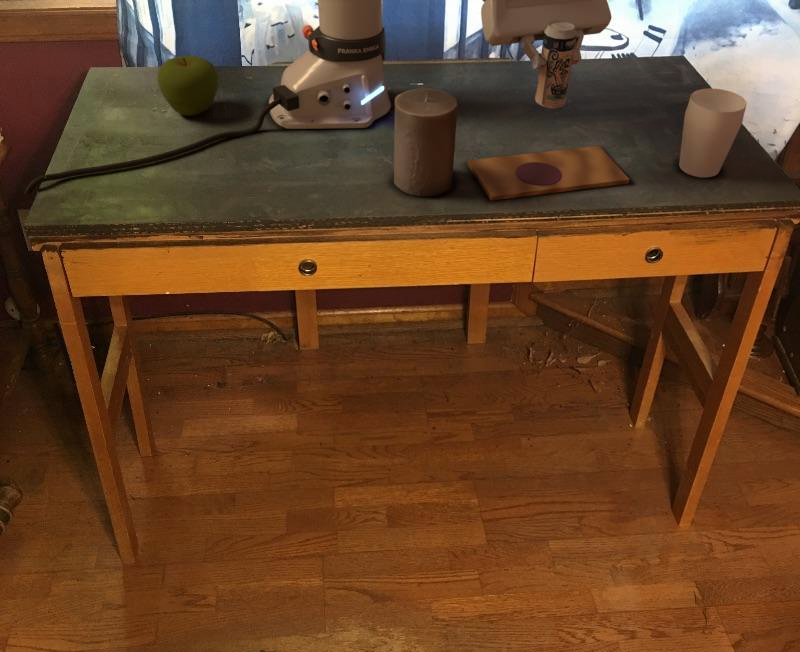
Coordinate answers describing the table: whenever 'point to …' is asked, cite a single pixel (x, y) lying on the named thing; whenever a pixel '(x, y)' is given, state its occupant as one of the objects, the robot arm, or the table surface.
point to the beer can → (556, 64)
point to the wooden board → (546, 172)
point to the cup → (710, 130)
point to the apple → (188, 84)
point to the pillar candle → (424, 141)
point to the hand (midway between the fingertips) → (557, 65)
